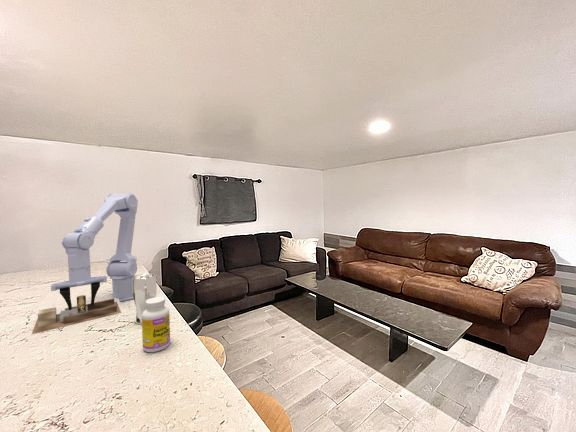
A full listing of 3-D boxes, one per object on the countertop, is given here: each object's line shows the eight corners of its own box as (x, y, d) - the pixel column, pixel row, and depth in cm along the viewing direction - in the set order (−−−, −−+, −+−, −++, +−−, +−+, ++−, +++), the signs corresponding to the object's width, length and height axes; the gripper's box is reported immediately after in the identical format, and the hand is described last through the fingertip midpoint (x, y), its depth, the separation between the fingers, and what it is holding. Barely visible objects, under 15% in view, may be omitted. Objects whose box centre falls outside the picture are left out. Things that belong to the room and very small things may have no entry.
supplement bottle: (151, 356, 64) (149, 306, 63) (137, 348, 67) (135, 301, 67) (175, 343, 69) (173, 298, 69) (161, 337, 73) (159, 294, 72)
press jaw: (87, 309, 90) (86, 292, 89) (87, 316, 84) (87, 297, 84) (61, 315, 85) (60, 297, 85) (59, 322, 80) (58, 303, 80)
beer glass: (162, 317, 86) (160, 274, 86) (145, 326, 80) (143, 280, 79) (147, 314, 89) (145, 272, 88) (128, 323, 82) (126, 278, 82)
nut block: (56, 318, 83) (56, 307, 83) (55, 323, 80) (55, 310, 80) (39, 322, 81) (39, 310, 81) (38, 327, 78) (37, 314, 78)
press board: (116, 305, 98) (116, 296, 98) (121, 316, 87) (120, 307, 87) (37, 322, 84) (37, 312, 84) (31, 339, 73) (31, 327, 73)
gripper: (49, 273, 78) (51, 316, 78) (106, 265, 87) (108, 304, 87) (51, 269, 83) (53, 309, 84) (105, 262, 92) (106, 298, 93)
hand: (81, 306), depth 86 cm, fingers open, 5 cm apart
